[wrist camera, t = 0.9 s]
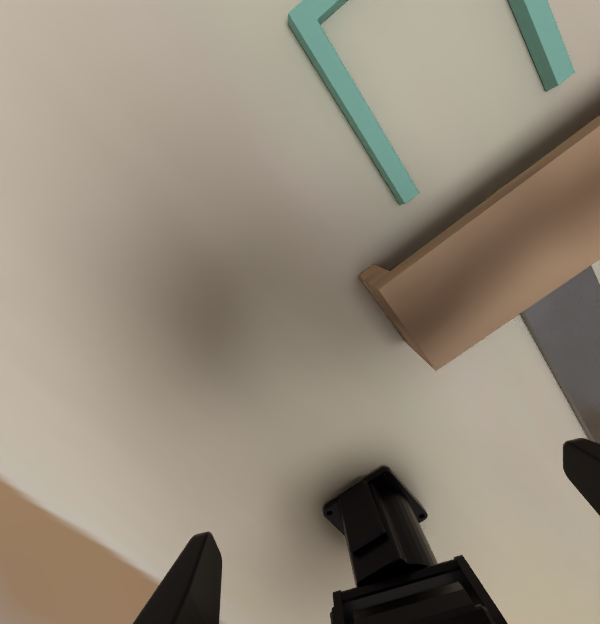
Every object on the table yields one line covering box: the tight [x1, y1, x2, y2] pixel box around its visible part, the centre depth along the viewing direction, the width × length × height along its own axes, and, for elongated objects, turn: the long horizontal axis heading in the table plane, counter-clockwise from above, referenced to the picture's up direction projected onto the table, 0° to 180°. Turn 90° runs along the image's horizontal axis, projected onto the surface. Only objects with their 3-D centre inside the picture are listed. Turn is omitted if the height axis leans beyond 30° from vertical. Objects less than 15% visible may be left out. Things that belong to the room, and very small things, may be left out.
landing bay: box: [288, 0, 575, 204], centre depth 16 cm, size 11×11×1 cm
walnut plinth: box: [358, 115, 600, 371], centre depth 17 cm, size 6×20×4 cm, turn 128°
